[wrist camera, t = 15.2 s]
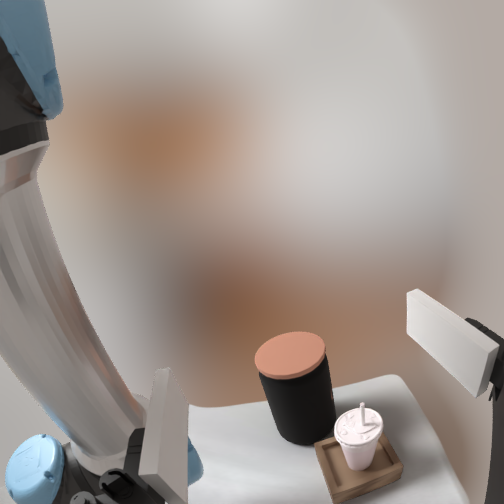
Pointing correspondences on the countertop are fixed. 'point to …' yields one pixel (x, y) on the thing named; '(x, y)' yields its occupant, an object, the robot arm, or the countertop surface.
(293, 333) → the coffee jar
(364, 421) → the smoothie
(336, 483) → the wooden tray
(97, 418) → the robot arm
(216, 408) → the countertop surface
